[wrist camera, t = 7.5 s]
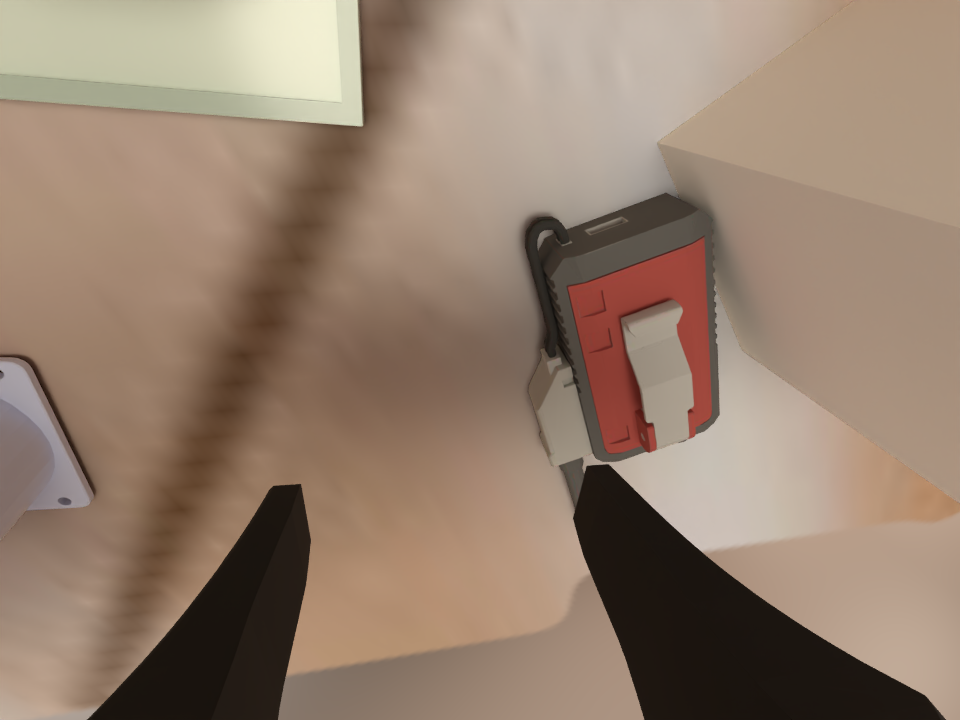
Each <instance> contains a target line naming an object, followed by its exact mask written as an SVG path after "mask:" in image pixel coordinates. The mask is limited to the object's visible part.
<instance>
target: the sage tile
mask: <svg viewBox="0 0 960 720" xmlns="http://www.w3.org/2000/svg"><path fill="white" fill-rule="evenodd" d="M0 99H11V100H24V101H37V102H50V103H63V104H76V105H89V106H102V107H115V108H129V109H142V110H155V111H168V112H181V113H194V114H207V115H220V116H233V117H246V118H260V119H273V120H286V121H299V122H312V123H325V124H338V125H351V126H363V125H364V103H363V77H362V51H361V25H360V0H0Z"/></svg>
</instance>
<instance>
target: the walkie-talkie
mask: <svg viewBox="0 0 960 720" xmlns="http://www.w3.org/2000/svg"><path fill="white" fill-rule="evenodd" d="M712 221H713V218H712V217H710V216H709V215H707V214H706V213H705V212H703V211H702V210H700V209H699V208H697V207H694V206H692V205H690V204H688V203H686V202H684V201H682V200H679V199H677V198H675V197H673V196H671V195H669V194H667V193H664V194H662V195H659V196H656V197H654V198H651V199H648V200H645V201H643V202H640V203H637V204H635V205H632V206H629V207H627V208H624V209H621V210H619V211H616V212H613V213H610V214H608V215H605V216H602V217H600V218H597V219H594V220H592V221H589V222H586V223H583V224H581V225H578V226H575V227H573V228H570V229H567V230H566V229H565V227H564V226H563V225H562V223H561V222H559V220H557V219H555V218H553V217H544V218H537V219H536V220H534V221H533V222H531V224H530V226H529V227H528V229H527V231H526V239H525V248H526V251H527V255H528V259H529V262H530V266H531V270H532V273H533V277H534V280H535V284H536V288H537V291H538V295H539V299H540V302H541V306H542V309H543V314H544V318H545V322H546V326H547V336H546V339H545V348H542V349H540V351H541V355H542V358H541V360H540V363H539V365H538V367H537V369H536V371H535V373H534V376H533V378H532V380H531V382H530V384H529V388H528V392H529V395H530V398H531V401H532V404H533V407H534V410H535V413H536V417H537V420H538V423H539V426H540V429H541V433H540V438H541V441H542V443H543V446H544V448H545V451H546V453H547V456H548V458H549V461H550V463H551V466H553V467H556V466H559V467H560V469H561V470H562V471H564V474H565V477H566V480H567V483H568V487H569V490H570V493H571V496H572V499H573V503H574V506H575V509H576V505H577V501H578V498H579V494H580V490H581V486H582V482H583V479H584V473H583V470H582V466H583V458H582V457H584V456H587V455H590V454H594V456H595V458H596V459H598V460H600V461H602V462H616V461H621V460H624V459H627V458H629V457H632V456H635V455H638V454H641V453H644V452H649V453H650V452H652V451H655V450H658V449H661V448H664V447H667V446H670V445H672V444H675V443H680V442H684V441H686V440H687V439H690V438H692V437H694V436H695V434H698V433H701V432H704V431H705V430H706V429H707V428H709V427H710V426H711V425H712V424H713V423H714V422H715V421H716V419H717V418H718V416H719V415H720V412H719V380H718V349H717V344H716V338H717V334H716V333H715V329H716V328H717V324H716V323H715V318H716V313H715V307H716V303H715V302H714V296H715V295H716V292H715V291H714V285H715V280H714V278H713V273H714V272H715V268H714V267H713V261H714V259H715V256H714V255H713V248H714V243H713V242H712V235H713V234H714V230H713V229H712ZM544 230H554V232H555V234H554V235H551V236H548V237H546V238H545V239H544V241H543V243H542V245H541V247H540V248H539V250H538V249H537V240H538V237H539V234H540V233H541V232H542V231H544ZM557 343H558V344H559V346H560V348H559V346H558V345H556V344H557Z"/></svg>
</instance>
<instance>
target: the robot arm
mask: <svg viewBox="0 0 960 720" xmlns="http://www.w3.org/2000/svg"><path fill="white" fill-rule="evenodd" d="M0 370H1V371H2V372H3V373H1V372H0V541H1V540H2V539H3V538H4V537H5V535H6V534H7V533H8V532H9V530H10V529H11V528H12V527H13V526H14V524H15V523H16V522H17V521H18V519H19V518H20V517H21V516H22V515H23V513H24V512H25V511H29V510H45V509H62V508H78V507H85V506H87V505H89V504H90V502H91V501H92V500H93V498H94V495H93V492H92V490H91V488H90V486H89V484H88V482H87V480H86V478H85V476H84V474H83V472H82V470H81V468H80V466H79V464H78V462H77V459H76V457H75V455H74V453H73V451H72V449H71V447H70V445H69V443H68V441H67V439H66V437H65V435H64V433H63V431H62V429H61V427H60V425H59V423H58V421H57V419H56V416H55V414H54V412H53V410H52V408H51V406H50V404H49V402H48V400H47V398H46V396H45V394H44V392H43V390H42V388H41V386H40V384H39V382H38V380H37V378H36V376H35V374H34V371H33V369H32V368H31V366H30V365H29V364H28V363H27V362H25V361H24V360H21V359H19V358H13V357H0ZM573 520H574V523H575V527H576V531H577V535H578V538H579V542H580V545H581V549H582V552H583V555H584V558H585V560H586V563H587V565H588V568H589V570H590V573H591V575H592V578H593V580H594V583H595V585H596V587H597V590H598V592H599V594H600V597H601V599H602V601H603V604H604V606H605V609H606V611H607V614H608V616H609V618H610V621H611V623H612V625H613V628H614V630H615V633H616V635H617V637H618V640H619V642H620V645H621V648H622V651H623V653H624V656H625V659H626V661H627V664H628V668H629V671H630V674H631V677H632V681H633V684H634V687H635V690H636V693H637V696H638V700H639V702H640V706H641V710H642V713H643V716H644V720H946V719H945V718H944V717H943V716H942V715H941V713H940V712H939V711H938V710H937V709H936V708H935V706H934V705H933V704H932V703H931V702H930V701H929V699H928V698H927V697H926V696H925V695H923V694H921V693H919V692H918V691H916V690H914V689H912V688H910V687H908V686H906V685H904V684H903V683H901V682H899V681H897V680H895V679H893V678H891V677H889V676H887V675H886V674H884V673H882V672H880V671H878V670H876V669H875V668H873V667H871V666H869V665H867V664H865V663H863V662H861V661H860V660H858V659H856V658H855V657H853V656H851V655H850V654H848V653H846V652H845V651H843V650H841V649H839V648H838V647H836V646H834V645H832V644H831V643H829V642H827V641H826V640H824V639H823V638H821V637H819V636H818V635H816V634H815V633H813V632H811V631H810V630H808V629H807V628H805V627H803V626H802V625H800V624H799V623H797V622H796V621H794V620H793V619H791V618H790V617H788V616H787V615H785V614H784V613H782V612H781V611H779V610H778V609H776V608H775V607H773V606H772V605H770V604H769V603H767V602H766V601H765V600H763V599H762V598H760V597H759V596H758V595H756V594H755V593H753V592H752V591H751V590H749V589H748V588H747V587H745V586H744V585H743V584H741V583H740V582H739V581H737V580H736V579H734V578H733V577H732V576H731V575H729V574H728V573H727V572H725V571H724V570H723V569H722V568H720V567H719V566H718V565H717V564H715V563H714V562H713V561H712V560H711V559H709V558H708V557H707V556H706V555H705V554H703V553H702V552H701V551H700V550H699V549H698V548H696V547H695V546H694V545H693V544H692V543H691V542H689V541H688V540H687V539H686V538H685V537H684V536H683V535H682V534H680V533H679V532H678V531H677V530H676V529H675V528H674V527H673V526H672V525H670V524H669V523H668V522H667V521H666V520H665V519H664V518H663V517H662V516H661V515H660V514H659V513H658V512H657V511H656V510H655V509H654V508H652V507H651V506H650V505H649V504H648V503H647V502H646V501H645V500H644V499H643V498H642V497H641V496H640V495H639V494H638V493H637V492H636V491H635V490H634V489H633V488H632V487H631V486H630V485H629V484H628V483H627V482H626V481H625V480H624V479H623V478H622V477H621V476H620V475H619V474H618V473H617V472H616V471H615V470H614V469H613V468H612V467H611V466H610V465H609V464H606V465H591V466H587V467H586V471H585V475H584V479H583V482H582V486H581V490H580V494H579V498H578V501H577V505H576V509H575V513H574V517H573ZM310 544H311V538H310V533H309V527H308V521H307V516H306V510H305V504H304V499H303V493H302V488H301V484H296V485H280V486H273V487H272V488H271V489H270V490H269V491H268V493H267V495H266V497H265V498H264V500H263V502H262V503H261V505H260V507H259V508H258V510H257V512H256V513H255V515H254V516H253V518H252V520H251V521H250V523H249V524H248V526H247V527H246V529H245V530H244V532H243V533H242V535H241V536H240V538H239V539H238V541H237V542H236V544H235V545H234V547H233V548H232V549H231V551H230V552H229V554H228V555H227V557H226V558H225V559H224V561H223V562H222V564H221V565H220V567H219V568H218V569H217V571H216V572H215V573H214V575H213V576H212V578H211V579H210V580H209V581H208V583H207V584H206V585H205V587H204V588H203V589H202V591H201V592H200V593H199V594H198V596H197V597H196V598H195V600H194V601H193V602H192V603H191V605H190V606H189V607H188V609H187V610H186V611H185V612H184V614H183V615H182V616H181V617H180V619H179V620H178V621H177V622H176V623H175V625H174V626H173V627H172V628H171V629H170V631H169V632H168V633H167V634H166V635H165V637H164V638H163V639H162V640H161V641H160V642H159V643H158V645H157V646H156V647H155V648H154V649H153V650H152V651H151V653H150V654H149V655H148V656H147V657H146V658H145V659H144V660H143V662H142V663H141V664H140V665H139V666H138V667H137V668H136V669H135V670H134V671H133V672H132V673H131V675H130V676H129V677H128V678H127V679H126V680H125V681H124V682H123V683H122V684H121V685H120V686H119V687H118V688H117V690H116V691H115V692H114V693H113V694H112V695H111V696H110V697H109V698H108V699H107V700H106V701H105V702H104V703H103V704H102V705H101V706H100V707H99V708H98V709H97V710H96V711H95V712H94V713H93V714H92V716H91V717H90V718H88V719H87V720H278V715H279V707H280V702H281V697H282V692H283V686H284V681H285V677H286V672H287V668H288V664H289V659H290V655H291V650H292V646H293V641H294V637H295V632H296V628H297V623H298V619H299V614H300V610H301V605H302V600H303V596H304V591H305V586H306V580H307V572H308V563H309V553H310Z"/></svg>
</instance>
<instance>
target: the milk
mask: <svg viewBox="0 0 960 720" xmlns="http://www.w3.org/2000/svg"><path fill="white" fill-rule="evenodd" d="M657 144H658V146H659V149H660V151H661V153H662V156H663V158H664V161H665V163H666V166H667V168H668V171H669V173H670V175H671V178H672V180H673V183H674V185H675V188H676V190H677V193H678V195H679V198H680V200H682V201H684V202H686V203H688V204H690V205H692V206H694V207H697V208H699V209H700V210H702V211H703V212H705V213H706V214H707V215H709V216H710V217H712V218H713V221H712V229H713V230H714V234H713V235H712V242H713V243H714V248H713V255H714V256H715V259H714V261H713V267H714V268H715V272H714V273H713V278H714V280H715V286H716V288H717V291H718V293H719V295H720V298H721V300H722V303H723V305H724V308H725V310H726V313H727V315H728V318H729V320H730V322H731V325H732V327H733V330H734V332H735V335H736V337H737V340H738V342H739V344H740V347H741V349H742V351H744V352H745V353H747V354H748V355H749V356H751V357H752V358H754V359H755V360H756V361H758V362H759V363H761V364H762V365H764V366H765V367H766V368H768V369H769V370H771V371H772V372H774V373H775V374H776V375H778V376H779V377H781V378H782V379H783V380H785V381H786V382H788V383H789V384H791V385H792V386H793V387H795V388H796V389H798V390H799V391H801V392H802V393H803V394H805V395H806V396H808V397H809V398H810V399H812V400H813V401H815V402H816V403H818V404H819V405H820V406H822V407H823V408H825V409H826V410H828V411H829V412H830V413H832V414H833V415H835V416H836V417H837V418H839V419H840V420H842V421H843V422H845V423H846V424H847V425H849V426H850V427H852V428H853V429H855V430H856V431H857V432H859V433H860V434H862V435H863V436H865V437H866V438H867V439H869V440H870V441H872V442H873V443H874V444H876V445H877V446H879V447H880V448H882V449H883V450H884V451H886V452H887V453H889V454H890V455H892V456H893V457H894V458H896V459H897V460H899V461H900V462H901V463H903V464H904V465H906V466H907V467H909V468H910V469H911V470H913V471H914V472H916V473H917V474H919V475H920V476H921V477H923V478H924V479H926V480H927V481H928V482H930V483H931V484H933V485H934V486H936V487H937V488H938V489H940V490H941V491H943V492H944V493H946V494H947V495H948V496H950V497H951V498H953V499H954V500H955V501H957V502H958V503H960V0H854V1H853V2H852V3H850V4H849V5H847V6H846V7H845V8H843V9H842V10H840V11H839V12H838V13H836V14H835V15H833V16H832V17H831V18H829V19H828V20H827V21H825V22H824V23H822V24H821V25H820V26H818V27H817V28H815V29H814V30H813V31H811V32H810V33H808V34H807V35H806V36H804V37H803V38H802V39H800V40H799V41H797V42H796V43H795V44H793V45H792V46H790V47H789V48H788V49H786V50H785V51H783V52H782V53H781V54H779V55H778V56H777V57H775V58H774V59H772V60H771V61H770V62H768V63H767V64H765V65H764V66H763V67H761V68H760V69H758V70H757V71H756V72H754V73H753V74H752V75H750V76H749V77H747V78H746V79H745V80H743V81H742V82H740V83H739V84H738V85H736V86H735V87H733V88H732V89H731V90H729V91H728V92H727V93H725V94H724V95H722V96H721V97H720V98H718V99H717V100H715V101H714V102H713V103H711V104H710V105H708V106H707V107H706V108H704V109H703V110H702V111H700V112H699V113H697V114H696V115H695V116H693V117H692V118H690V119H689V120H688V121H686V122H685V123H683V124H682V125H681V126H679V127H678V128H677V129H675V130H674V131H672V132H671V133H670V134H668V135H667V136H665V137H664V138H663V139H661V140H660V141H658V142H657Z"/></svg>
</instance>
